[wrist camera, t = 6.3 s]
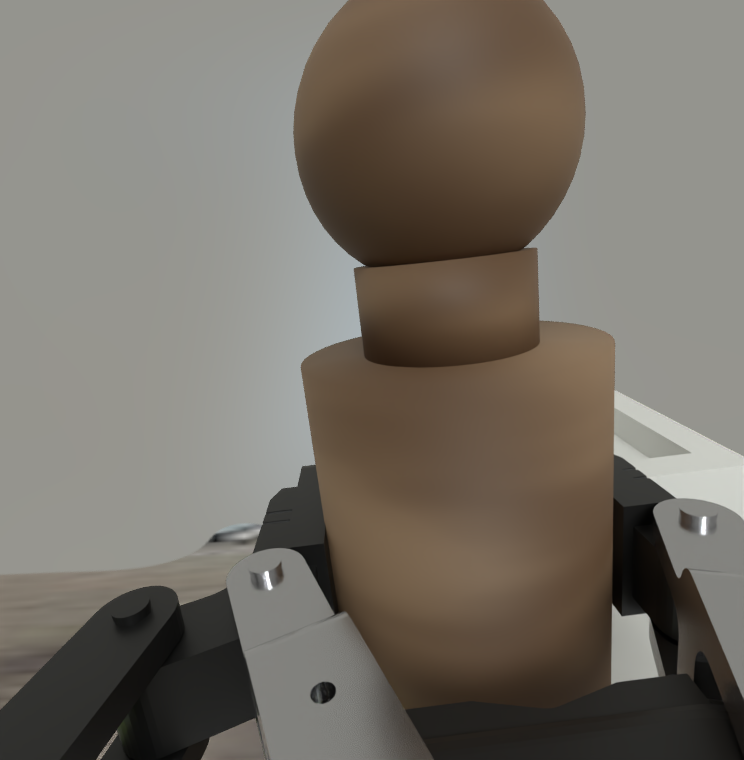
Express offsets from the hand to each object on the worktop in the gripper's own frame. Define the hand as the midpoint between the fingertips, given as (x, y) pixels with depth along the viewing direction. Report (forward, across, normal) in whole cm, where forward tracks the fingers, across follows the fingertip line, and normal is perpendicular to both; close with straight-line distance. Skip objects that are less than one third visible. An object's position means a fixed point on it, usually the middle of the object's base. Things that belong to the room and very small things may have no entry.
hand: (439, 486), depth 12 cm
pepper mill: (-3, 0, +12) cm, 12 cm away
